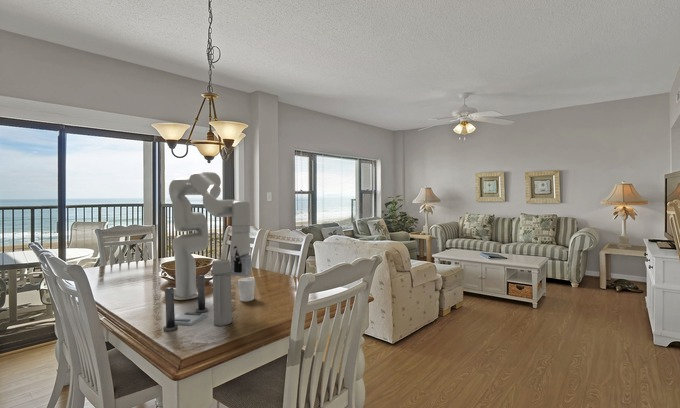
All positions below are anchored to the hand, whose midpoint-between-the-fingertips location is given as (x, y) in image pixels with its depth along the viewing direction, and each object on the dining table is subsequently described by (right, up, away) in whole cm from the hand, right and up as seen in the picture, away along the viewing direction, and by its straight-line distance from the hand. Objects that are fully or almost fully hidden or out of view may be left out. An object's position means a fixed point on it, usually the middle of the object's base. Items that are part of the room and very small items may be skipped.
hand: (241, 270), depth 156 cm
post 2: (-18, -19, +2) cm, 26 cm away
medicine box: (0, -2, 0) cm, 2 cm away
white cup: (-2, -18, +19) cm, 26 cm away
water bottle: (-4, -19, -14) cm, 24 cm away
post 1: (-22, -19, -18) cm, 34 cm away
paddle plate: (-20, -19, -8) cm, 29 cm away
